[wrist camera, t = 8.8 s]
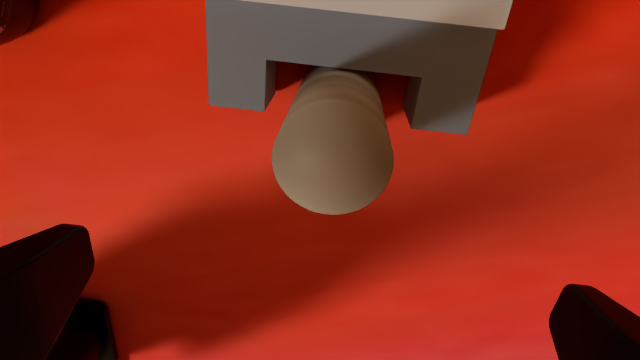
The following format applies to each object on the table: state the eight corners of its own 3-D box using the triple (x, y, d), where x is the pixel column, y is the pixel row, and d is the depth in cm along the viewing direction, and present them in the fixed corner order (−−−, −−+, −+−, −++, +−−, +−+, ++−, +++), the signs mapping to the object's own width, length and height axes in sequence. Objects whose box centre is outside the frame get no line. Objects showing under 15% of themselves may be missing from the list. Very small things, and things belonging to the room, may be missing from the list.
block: (452, 113, 18) (467, 135, 16) (226, 88, 18) (208, 105, 16) (477, 18, 16) (498, 27, 14) (225, -10, 16) (205, -7, 14)
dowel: (369, 141, 19) (379, 223, 13) (294, 129, 19) (266, 204, 13) (386, 64, 17) (406, 115, 11) (304, 51, 17) (277, 94, 11)
